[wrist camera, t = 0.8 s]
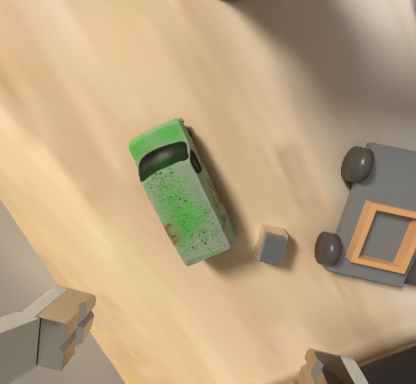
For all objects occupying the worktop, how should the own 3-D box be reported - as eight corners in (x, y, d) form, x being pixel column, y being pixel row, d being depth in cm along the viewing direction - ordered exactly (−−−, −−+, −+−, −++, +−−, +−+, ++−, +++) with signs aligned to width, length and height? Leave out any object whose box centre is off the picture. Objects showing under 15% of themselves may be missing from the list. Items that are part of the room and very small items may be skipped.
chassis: (350, 140, 43) (368, 140, 38) (451, 161, 43) (486, 164, 37) (310, 258, 49) (321, 275, 43) (399, 279, 48) (423, 298, 42)
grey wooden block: (262, 223, 48) (265, 233, 43) (283, 228, 48) (289, 238, 43) (254, 250, 50) (257, 262, 45) (275, 255, 50) (280, 268, 45)
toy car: (184, 117, 45) (172, 111, 35) (238, 231, 49) (240, 254, 39) (135, 142, 47) (111, 142, 37) (191, 250, 51) (182, 276, 41)
